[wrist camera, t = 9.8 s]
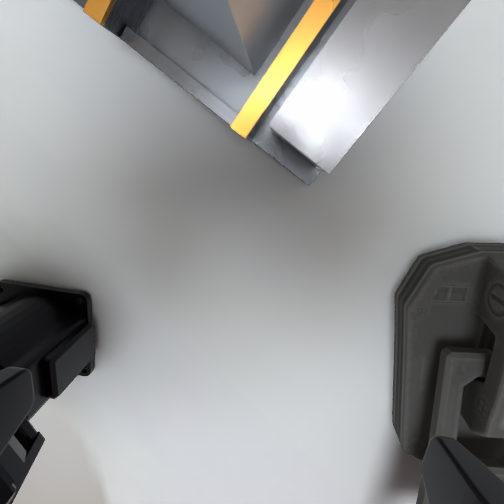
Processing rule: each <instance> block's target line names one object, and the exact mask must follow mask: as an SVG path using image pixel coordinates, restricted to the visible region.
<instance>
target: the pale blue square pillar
mask: <svg viewBox="0 0 504 504" xmlns="http://www.w3.org/2000/svg"><path fill="white" fill-rule="evenodd" d="M166 1H167V2H168V4H169V5H170V6H171V7H172V8H173V9H175V10H176V11H177V12H178V13H179V14H181V15H182V16H183V17H184V18H186V19H187V20H188V21H189V22H190V23H192V24H193V25H194V26H195V27H197V28H198V29H199V30H200V31H201V32H203V33H204V34H205V35H206V36H207V37H209V38H210V39H211V40H212V41H214V42H215V43H216V44H217V45H218V46H220V47H221V48H222V49H223V50H224V51H226V52H227V53H228V54H229V55H231V56H232V57H233V58H234V59H235V60H237V61H238V62H239V63H240V64H242V65H243V66H244V67H245V68H246V69H248V70H249V71H250V72H251V73H252V74H254V75H256V74H257V72H258V71H259V69H260V68H261V66H262V65H263V63H264V62H265V60H266V59H267V57H268V56H269V54H270V53H271V51H272V50H273V48H274V47H275V45H276V44H277V42H278V41H279V39H280V38H281V36H282V34H283V33H284V31H285V30H286V28H287V27H288V25H289V24H290V22H291V21H292V19H293V18H294V16H295V15H296V13H297V12H298V10H299V9H300V7H301V6H302V4H303V3H304V1H305V0H166Z"/></svg>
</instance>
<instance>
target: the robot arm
mask: <svg viewBox="0 0 504 504" xmlns="http://www.w3.org/2000/svg"><path fill="white" fill-rule="evenodd" d="M2 288H3V289H2ZM80 298H82V299H83V301H84V302H83V301H81V300H80ZM94 356H95V349H94V327H93V324H92V318H91V299H90V296H89V295H88V294H87V293H86V292H82V291H76V290H69V289H62V288H55V287H49V286H42V285H35V284H28V283H22V282H15V281H8V280H0V504H12V503H13V500H14V499H15V497H16V495H17V493H18V491H19V489H20V487H21V485H22V483H23V481H24V479H25V477H26V476H27V474H28V472H29V470H30V468H31V466H32V464H33V462H34V460H35V458H36V456H37V454H38V452H39V451H40V449H41V447H42V445H43V443H44V441H45V438H44V437H43V436H42V434H41V433H40V432H37V431H36V430H35V429H34V428H33V426H32V425H31V423H30V422H29V420H30V419H31V418H32V417H33V416H34V415H35V413H36V412H37V411H38V410H39V409H40V408H41V407H42V406H43V405H44V404H45V403H46V402H47V400H48V399H49V398H52V399H55V398H57V397H58V396H59V395H60V394H61V393H62V392H63V391H64V390H65V389H66V388H67V386H68V385H69V384H70V383H71V382H72V381H73V380H74V379H75V377H76V376H77V375H81V376H88V375H89V374H90V373H91V372H92V371H93V370H94V359H93V357H94ZM84 367H85V368H86V369H85V368H84ZM421 473H422V478H423V482H424V486H425V490H426V494H427V498H428V502H429V504H504V482H503V481H502V480H501V479H500V478H499V477H498V476H497V475H495V474H494V473H493V472H492V471H491V470H490V469H489V468H488V467H486V466H485V465H484V464H483V463H482V462H481V461H480V460H479V459H477V458H476V457H475V456H474V455H473V454H472V453H471V452H469V451H468V450H467V449H466V448H465V447H464V446H463V445H462V444H460V443H459V442H458V441H457V440H455V439H453V438H450V437H444V436H437V435H436V436H433V437H432V438H431V440H430V442H429V445H428V447H427V450H426V452H425V455H424V458H423V460H422V464H421Z"/></svg>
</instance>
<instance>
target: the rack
mask: <svg viewBox="0 0 504 504" xmlns="http://www.w3.org/2000/svg"><path fill="white" fill-rule="evenodd" d="M74 1H75V2H77V3H78V4H79V5H81V6H82V7H83V8H84V9H83V11H84V12H85V13H86V14H87V15H89V16H90V17H91V18H92V19H94V20H95V21H96V22H97V23H99V24H100V25H102V26H103V27H105V28H106V29H108V30H109V31H111V32H112V33H113V34H115V35H116V36H118V37H119V38H121V39H122V40H123V41H124V42H126V43H127V44H128V45H129V46H131V47H132V48H133V49H134V50H136V51H137V52H138V53H140V54H141V55H142V56H143V57H145V58H146V59H147V60H148V61H150V62H151V63H152V64H153V65H155V66H156V67H157V68H159V69H160V70H161V71H162V72H164V73H165V74H166V75H167V76H169V77H170V78H171V79H173V80H174V81H175V82H176V83H178V84H179V85H180V86H181V87H183V88H184V89H185V90H186V91H188V92H189V93H190V94H192V95H193V96H194V97H195V98H197V99H198V100H199V101H200V102H202V103H203V104H204V105H205V106H207V107H208V108H209V109H211V110H212V111H213V112H214V113H216V114H217V115H218V116H219V117H221V118H222V119H223V120H224V121H226V122H227V123H228V124H230V125H231V126H230V127H231V128H232V129H233V130H234V131H236V132H237V133H238V134H240V135H241V136H242V137H243V138H245V139H249V140H251V141H253V142H254V143H255V144H257V145H258V146H259V147H260V148H262V149H263V150H264V151H265V152H267V153H268V154H269V155H270V156H272V157H273V158H274V159H276V160H277V161H278V162H279V163H281V164H282V165H283V166H284V167H286V168H287V169H288V170H289V171H291V172H292V173H293V174H295V175H296V176H297V177H298V178H300V179H301V180H302V181H303V182H305V183H306V184H307V185H308V186H310V184H311V183H312V182H313V181H314V179H315V178H316V177H317V176H318V174H319V173H320V172H321V171H322V170H323V171H325V172H326V173H328V174H330V172H331V171H332V170H333V169H334V167H335V166H336V165H337V164H338V163H339V161H340V160H341V159H342V158H343V156H344V155H345V154H346V153H347V151H348V150H349V149H350V148H351V147H352V145H353V144H354V143H355V142H356V140H357V139H358V138H359V137H360V136H361V134H362V133H363V132H364V131H365V129H366V128H367V127H368V126H369V124H370V123H371V122H372V121H373V120H374V118H375V117H376V116H377V115H378V113H379V112H380V111H381V110H382V109H383V107H384V106H385V105H386V104H387V102H388V101H389V100H390V99H391V97H392V96H393V95H394V94H395V93H396V91H397V90H398V89H399V88H400V86H401V85H402V84H403V83H404V82H405V80H406V79H407V78H408V77H409V75H410V74H411V73H412V72H413V70H414V69H415V68H416V67H417V66H418V64H419V63H420V62H421V61H422V59H423V58H424V57H425V56H426V55H427V53H428V52H429V51H430V50H431V48H432V47H433V46H434V45H435V44H436V42H437V41H438V40H439V39H440V37H441V36H442V35H443V34H444V32H445V31H446V30H447V29H448V28H449V26H450V25H451V24H452V23H453V21H454V20H455V19H456V18H457V17H458V15H459V14H460V13H461V12H462V10H463V9H464V8H465V7H466V5H467V4H468V3H469V2H470V1H471V0H305V1H304V3H303V4H302V6H301V7H300V9H299V10H298V12H297V13H296V15H295V16H294V18H293V19H292V21H291V22H290V24H289V25H288V27H287V28H286V30H285V31H284V33H283V34H282V36H281V38H280V39H279V41H278V42H277V44H276V45H275V47H274V48H273V50H272V51H271V53H270V54H269V56H268V57H267V59H266V60H265V62H264V63H263V65H262V66H261V68H260V69H259V71H258V72H257V74H256V75H254V74H252V73H251V72H250V71H249V70H248V69H246V68H245V67H244V66H243V65H242V64H240V63H239V62H238V61H237V60H235V59H234V58H233V57H232V56H231V55H229V54H228V53H227V52H226V51H224V50H223V49H222V48H221V47H220V46H218V45H217V44H216V43H215V42H214V41H212V40H211V39H210V38H209V37H207V36H206V35H205V34H204V33H203V32H201V31H200V30H199V29H198V28H197V27H195V26H194V25H193V24H192V23H190V22H189V21H188V20H187V19H186V18H184V17H183V16H182V15H181V14H179V13H178V12H177V11H176V10H175V9H173V8H172V7H171V6H170V5H169V4H168V2H167V1H166V0H74Z"/></svg>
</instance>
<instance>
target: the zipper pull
mask: <svg viewBox="0 0 504 504" xmlns="http://www.w3.org/2000/svg"><path fill="white" fill-rule="evenodd" d="M392 415H393V426H394V428H395V431H396V433H397V436H398V438H399V441H400V443H401V446H402V448H403V450H404V451H406V452H408V453H409V454H411V455H413V456H415V457H417V458H419V459H421V460H423V458H424V455H425V452H426V450H427V447H428V445H429V442H430V440H431V438H432V437H433V436H436V435H437V436H444V437H450V438H453V439H455V440H457V441H458V442H459V443H460V444H462V445H463V446H464V447H465V448H466V449H467V450H468V451H469V452H471V453H472V454H473V455H474V456H475V457H476V458H477V459H479V460H480V461H481V462H482V463H483V464H484V465H485V466H486V467H488V468H489V469H490V470H491V471H492V472H493V473H494V474H495V475H497V476H498V477H499V478H500V479H501V480H502V481H503V482H504V244H501V243H463V244H459V245H455V246H452V247H448V248H444V249H441V250H437V251H433V252H430V253H426V254H422V255H420V256H419V257H418V258H417V260H416V261H415V263H414V264H413V266H412V268H411V269H410V271H409V272H408V274H407V275H406V277H405V279H404V280H403V282H402V283H401V285H400V286H399V288H398V290H397V291H396V292H395V341H394V375H393V410H392ZM416 504H429V502H428V498H427V494H426V490H425V486H424V482H423V478H422V479H421V484H420V488H419V493H418V498H417V502H416Z"/></svg>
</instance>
